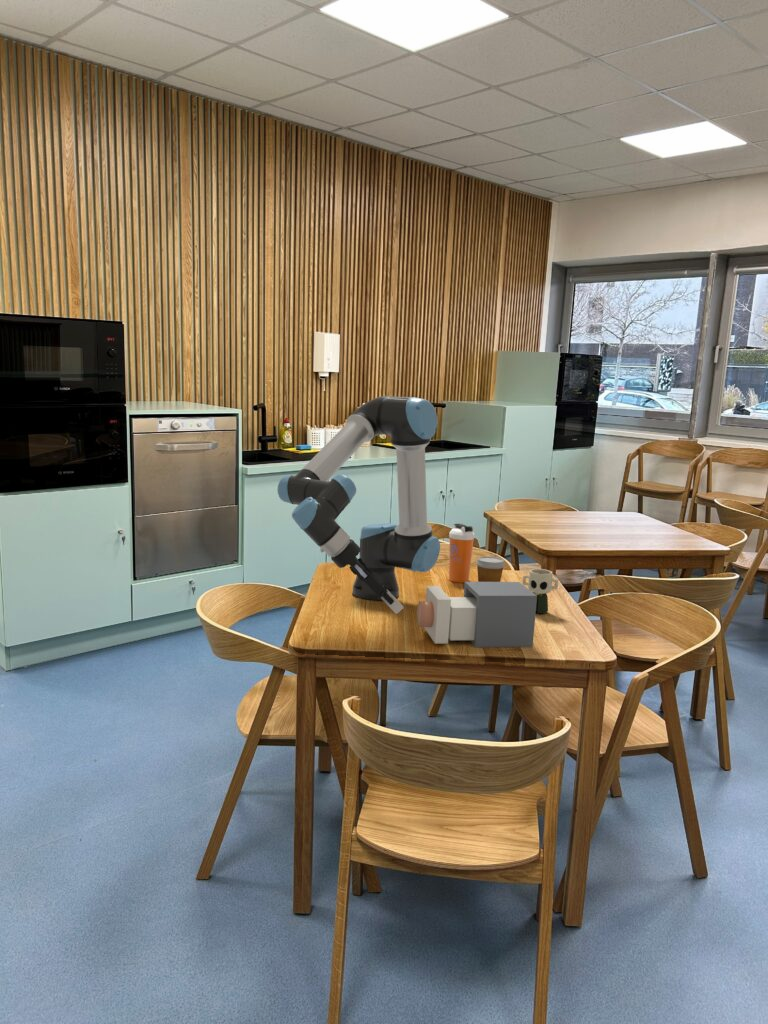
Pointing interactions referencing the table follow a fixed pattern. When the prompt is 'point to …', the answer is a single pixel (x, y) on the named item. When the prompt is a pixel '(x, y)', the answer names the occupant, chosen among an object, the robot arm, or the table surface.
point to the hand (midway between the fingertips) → (399, 609)
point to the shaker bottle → (460, 553)
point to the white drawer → (447, 616)
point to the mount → (503, 614)
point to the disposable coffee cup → (489, 569)
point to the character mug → (540, 586)
